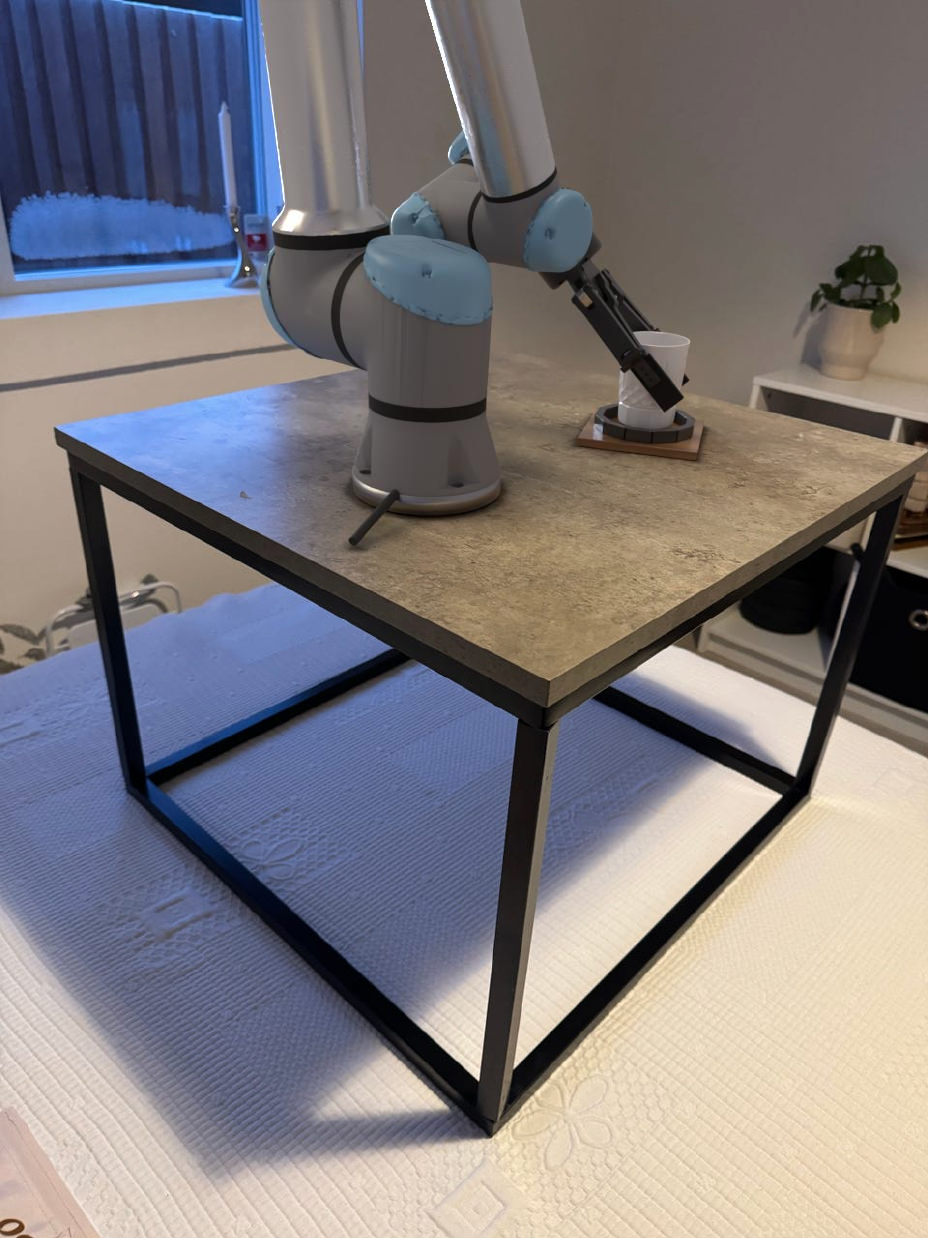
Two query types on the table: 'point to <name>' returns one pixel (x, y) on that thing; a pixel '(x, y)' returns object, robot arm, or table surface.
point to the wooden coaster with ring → (643, 435)
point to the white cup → (633, 396)
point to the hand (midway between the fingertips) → (677, 395)
